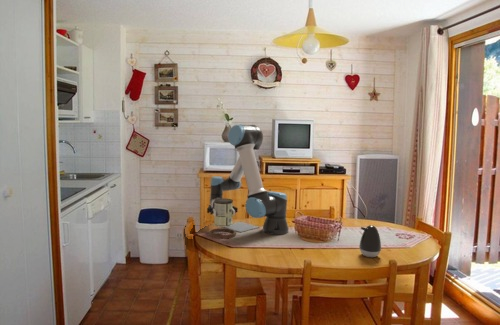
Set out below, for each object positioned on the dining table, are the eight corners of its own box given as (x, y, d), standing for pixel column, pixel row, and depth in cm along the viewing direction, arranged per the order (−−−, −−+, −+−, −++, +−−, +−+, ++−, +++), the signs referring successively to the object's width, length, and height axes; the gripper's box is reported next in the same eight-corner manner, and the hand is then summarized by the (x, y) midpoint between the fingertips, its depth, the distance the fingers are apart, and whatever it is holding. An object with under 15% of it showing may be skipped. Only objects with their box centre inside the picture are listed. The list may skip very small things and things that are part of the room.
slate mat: (259, 227, 239) (259, 226, 239) (240, 232, 227) (240, 231, 227) (240, 222, 250) (240, 221, 250) (221, 226, 238) (221, 226, 238)
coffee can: (215, 222, 228) (216, 198, 226) (233, 223, 227) (234, 198, 225) (212, 226, 217) (212, 201, 216) (230, 227, 216) (231, 202, 215)
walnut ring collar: (241, 234, 223) (241, 232, 223) (222, 239, 212) (222, 237, 212) (223, 229, 233) (223, 226, 233) (204, 233, 222) (204, 231, 222)
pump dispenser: (355, 252, 200) (357, 222, 198) (375, 252, 200) (377, 222, 199) (362, 259, 190) (364, 228, 188) (383, 259, 190) (386, 228, 189)
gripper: (237, 210, 242) (244, 219, 220) (199, 211, 237) (203, 220, 215) (237, 198, 241) (245, 206, 219) (199, 199, 236) (204, 207, 214)
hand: (224, 213), depth 217 cm, fingers closed on coffee can, 10 cm apart
